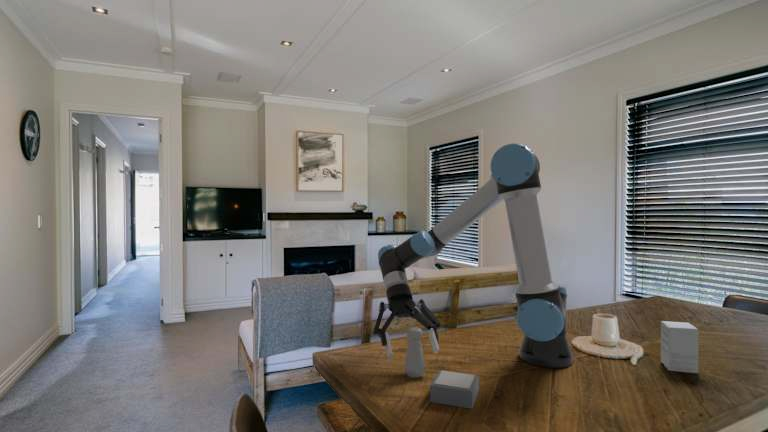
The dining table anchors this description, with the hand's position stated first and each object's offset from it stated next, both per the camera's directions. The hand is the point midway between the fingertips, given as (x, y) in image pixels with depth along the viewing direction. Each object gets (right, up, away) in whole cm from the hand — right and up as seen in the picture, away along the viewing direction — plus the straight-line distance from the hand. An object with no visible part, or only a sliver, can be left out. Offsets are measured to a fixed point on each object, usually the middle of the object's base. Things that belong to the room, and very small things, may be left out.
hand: (414, 354), depth 114 cm
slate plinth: (+9, -6, -12) cm, 17 cm away
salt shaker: (0, -6, +1) cm, 6 cm away
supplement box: (+77, -6, +6) cm, 78 cm away
